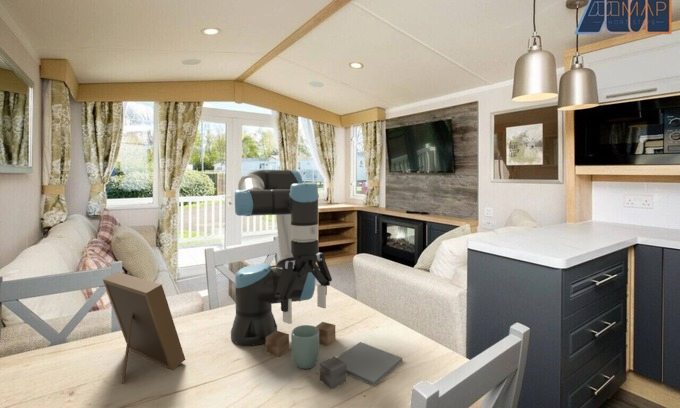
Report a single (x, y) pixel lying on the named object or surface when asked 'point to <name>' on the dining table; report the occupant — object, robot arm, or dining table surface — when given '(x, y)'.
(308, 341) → the cup
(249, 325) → the robot arm
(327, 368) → the charcoal block front
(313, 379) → the dining table surface
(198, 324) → the dining table surface
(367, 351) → the slate board
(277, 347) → the walnut block near
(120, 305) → the photo frame
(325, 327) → the walnut block left
